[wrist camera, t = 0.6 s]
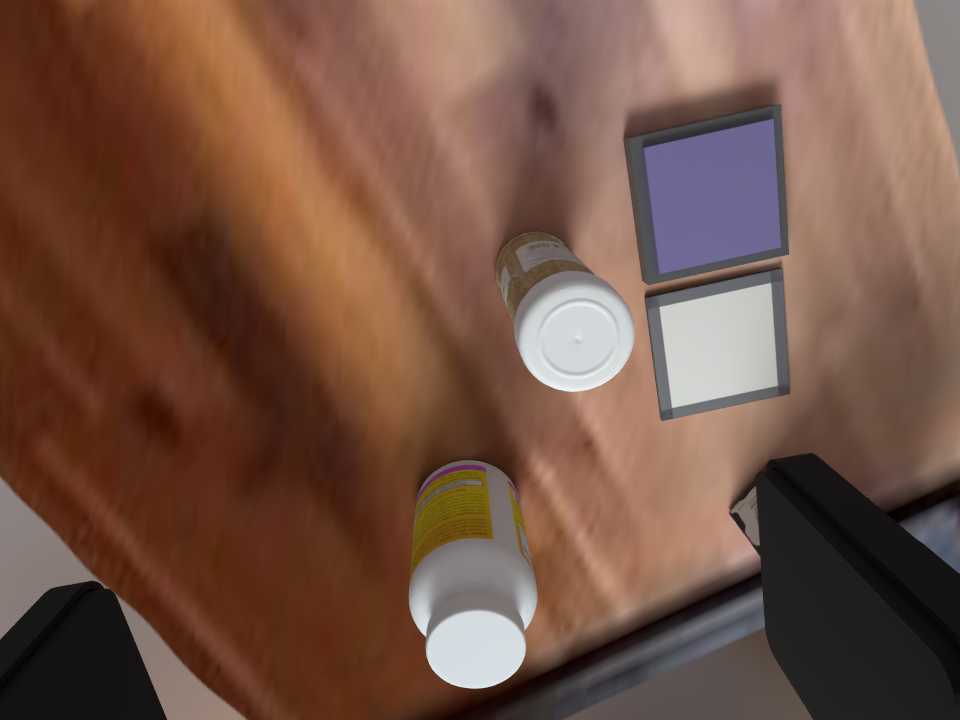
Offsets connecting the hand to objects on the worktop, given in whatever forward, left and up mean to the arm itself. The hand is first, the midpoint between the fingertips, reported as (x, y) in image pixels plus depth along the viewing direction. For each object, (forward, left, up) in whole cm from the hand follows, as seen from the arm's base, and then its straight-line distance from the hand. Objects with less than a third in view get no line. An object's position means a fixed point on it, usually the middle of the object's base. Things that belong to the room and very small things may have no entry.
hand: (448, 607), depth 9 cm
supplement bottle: (+16, -2, -30) cm, 34 cm away
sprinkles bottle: (+2, +5, -30) cm, 30 cm away
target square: (+9, +15, -29) cm, 34 cm away
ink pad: (0, +15, -29) cm, 33 cm away
